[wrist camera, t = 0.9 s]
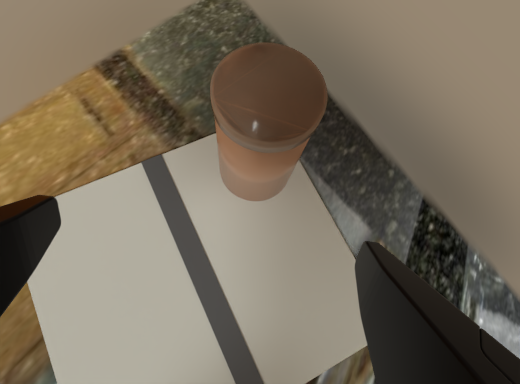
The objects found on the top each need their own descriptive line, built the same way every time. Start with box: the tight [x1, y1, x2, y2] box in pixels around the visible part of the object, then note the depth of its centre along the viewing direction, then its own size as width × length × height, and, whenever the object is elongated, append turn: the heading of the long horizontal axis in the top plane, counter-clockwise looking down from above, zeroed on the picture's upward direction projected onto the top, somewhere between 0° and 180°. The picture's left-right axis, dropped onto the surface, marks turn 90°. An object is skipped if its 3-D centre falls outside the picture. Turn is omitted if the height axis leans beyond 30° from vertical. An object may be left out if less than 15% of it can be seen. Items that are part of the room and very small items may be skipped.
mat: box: [27, 133, 367, 384], centre depth 22 cm, size 19×21×1 cm
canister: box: [210, 43, 328, 201], centre depth 20 cm, size 6×6×10 cm
